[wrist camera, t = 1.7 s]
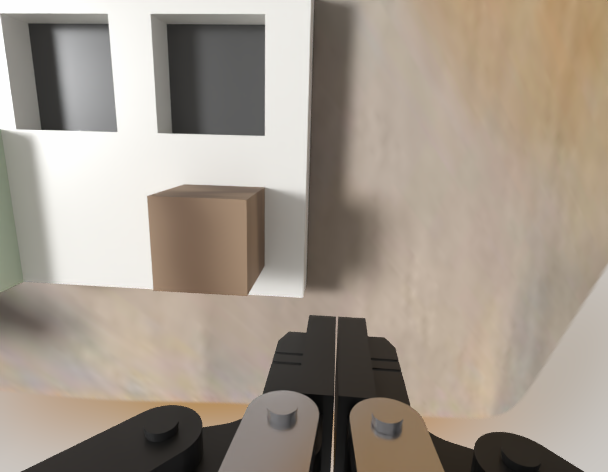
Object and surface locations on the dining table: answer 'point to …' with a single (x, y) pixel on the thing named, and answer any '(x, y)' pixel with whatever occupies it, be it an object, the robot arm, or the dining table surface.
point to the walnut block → (207, 238)
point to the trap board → (148, 129)
